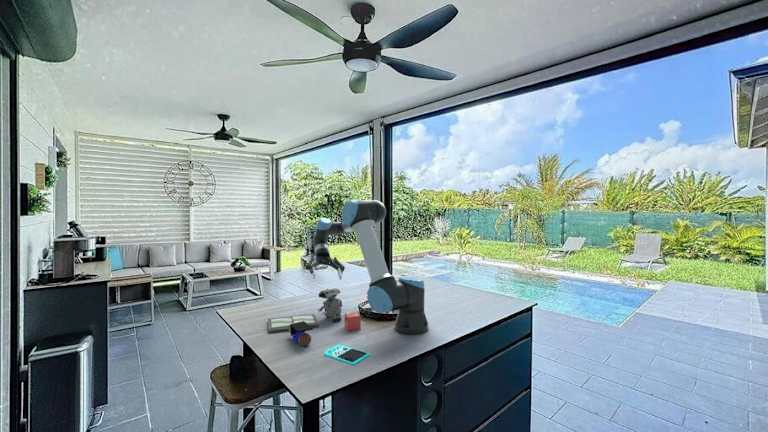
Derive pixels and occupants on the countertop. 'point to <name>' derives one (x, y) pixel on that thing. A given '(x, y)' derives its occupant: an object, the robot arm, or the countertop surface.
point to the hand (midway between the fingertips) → (327, 277)
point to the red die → (352, 321)
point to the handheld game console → (346, 354)
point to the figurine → (331, 304)
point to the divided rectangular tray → (290, 322)
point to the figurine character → (300, 332)
